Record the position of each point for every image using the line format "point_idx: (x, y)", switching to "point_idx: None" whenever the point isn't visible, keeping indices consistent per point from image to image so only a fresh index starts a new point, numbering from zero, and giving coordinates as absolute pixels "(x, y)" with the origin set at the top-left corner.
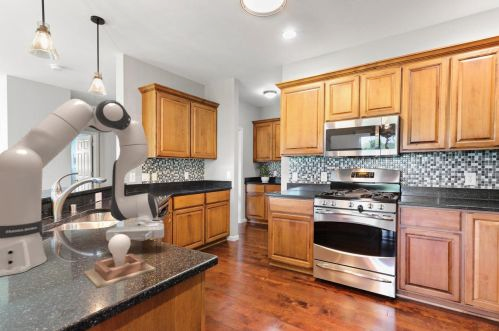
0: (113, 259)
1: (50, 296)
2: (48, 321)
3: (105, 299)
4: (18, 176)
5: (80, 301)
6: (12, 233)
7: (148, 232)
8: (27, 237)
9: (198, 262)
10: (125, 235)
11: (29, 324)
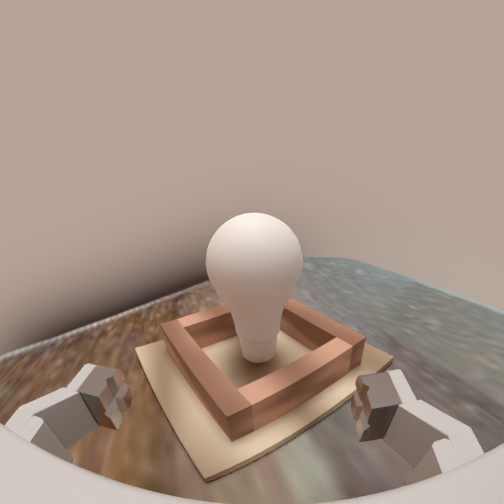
0: (300, 359)
1: (362, 290)
2: (303, 260)
3: None
4: None
5: None
6: None
7: (44, 425)
8: None
9: (18, 358)
10: (225, 223)
11: (323, 258)
